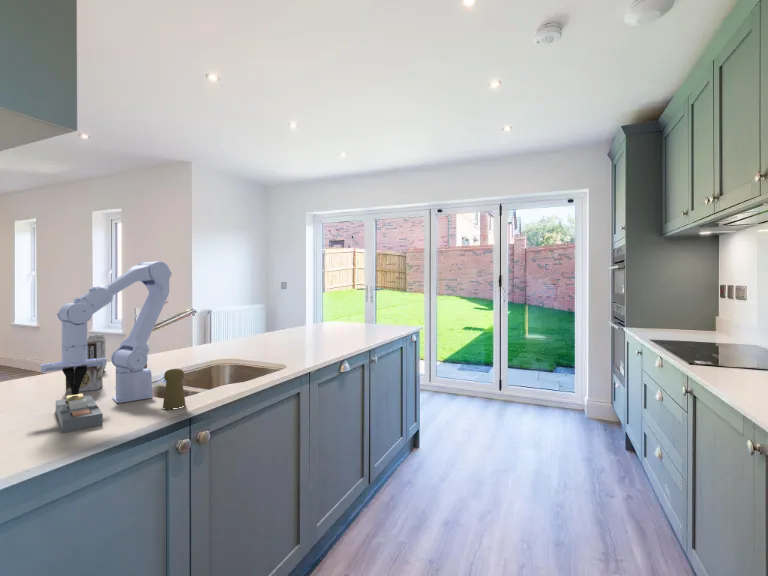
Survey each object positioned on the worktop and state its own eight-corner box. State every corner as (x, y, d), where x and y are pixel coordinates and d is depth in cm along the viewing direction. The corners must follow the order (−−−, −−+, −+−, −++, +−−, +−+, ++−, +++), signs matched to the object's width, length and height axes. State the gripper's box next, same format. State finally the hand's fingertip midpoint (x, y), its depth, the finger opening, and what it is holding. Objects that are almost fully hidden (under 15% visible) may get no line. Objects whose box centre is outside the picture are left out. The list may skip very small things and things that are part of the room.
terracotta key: (88, 420, 105) (88, 408, 105) (90, 423, 103) (90, 412, 103) (71, 423, 103) (71, 411, 103) (73, 427, 100) (72, 415, 100)
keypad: (90, 405, 119) (90, 395, 119) (102, 425, 103) (102, 413, 103) (55, 411, 113) (55, 400, 113) (62, 432, 97) (62, 420, 97)
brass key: (82, 403, 116) (82, 393, 116) (83, 406, 113) (83, 396, 113) (66, 406, 113) (66, 395, 113) (67, 409, 111) (67, 398, 111)
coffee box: (103, 385, 141) (103, 340, 141) (97, 390, 135) (97, 342, 135) (72, 388, 138) (71, 341, 138) (64, 392, 132) (64, 343, 132)
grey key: (85, 409, 111) (85, 398, 111) (87, 412, 108) (87, 401, 108) (68, 412, 108) (68, 401, 108) (70, 415, 106) (70, 404, 105)
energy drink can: (106, 369, 168) (106, 333, 168) (104, 372, 163) (104, 335, 162) (88, 370, 165) (88, 334, 165) (86, 373, 160) (86, 336, 159)
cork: (180, 402, 122) (180, 366, 122) (189, 406, 119) (189, 369, 118) (158, 407, 118) (158, 369, 118) (167, 411, 114) (167, 372, 114)
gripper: (41, 350, 105) (41, 402, 105) (108, 344, 115) (108, 392, 115) (40, 347, 110) (40, 396, 110) (104, 342, 120) (104, 387, 120)
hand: (74, 394), depth 113 cm, fingers closed
